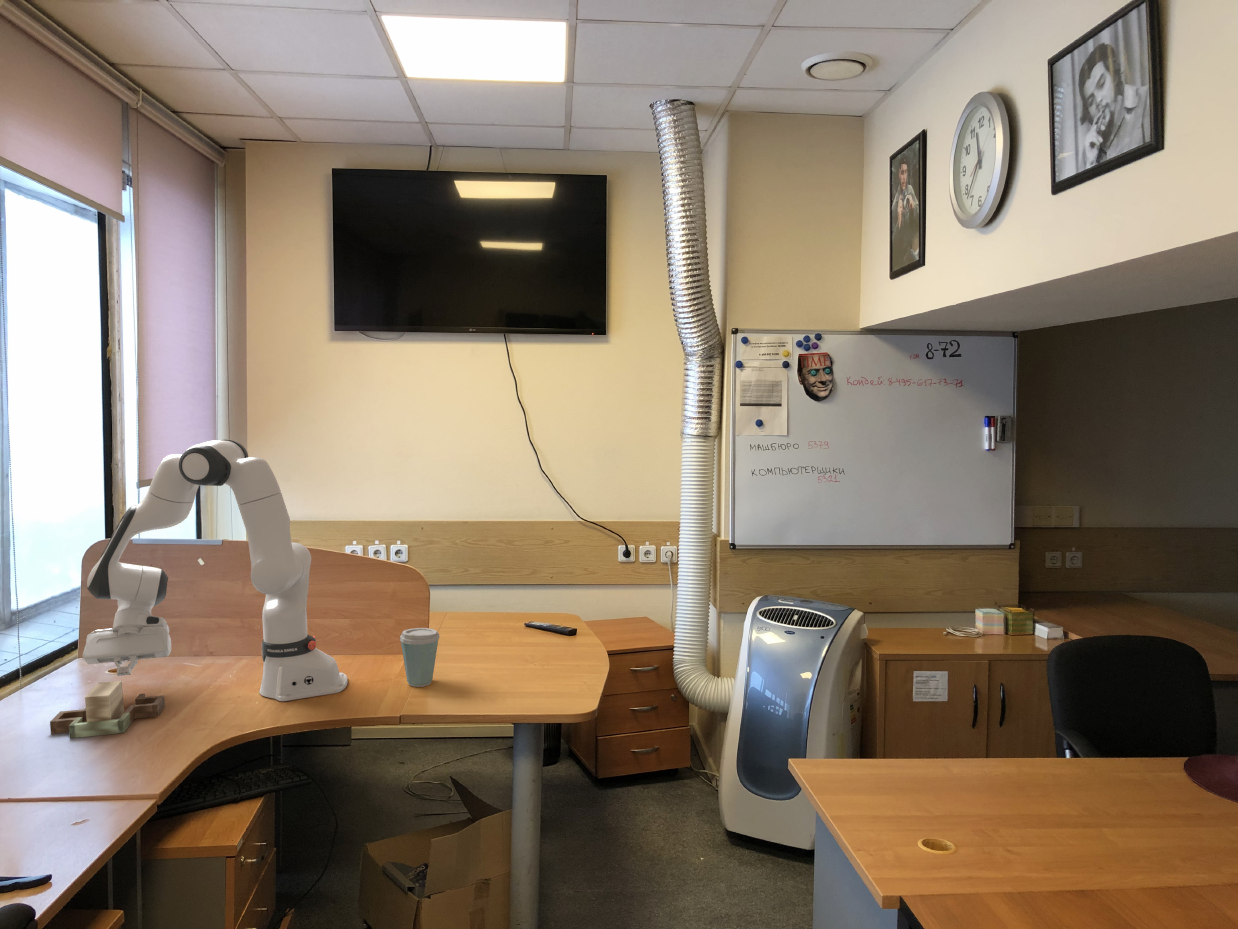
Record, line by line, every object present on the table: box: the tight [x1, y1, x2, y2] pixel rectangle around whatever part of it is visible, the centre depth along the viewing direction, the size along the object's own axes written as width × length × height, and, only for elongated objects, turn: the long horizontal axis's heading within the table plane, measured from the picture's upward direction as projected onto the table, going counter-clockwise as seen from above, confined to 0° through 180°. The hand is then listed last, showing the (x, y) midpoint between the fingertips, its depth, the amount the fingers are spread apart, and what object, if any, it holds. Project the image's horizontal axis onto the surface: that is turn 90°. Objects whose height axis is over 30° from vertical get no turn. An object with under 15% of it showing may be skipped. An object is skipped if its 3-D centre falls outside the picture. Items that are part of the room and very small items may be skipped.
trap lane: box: [49, 692, 166, 739], centre depth 208 cm, size 22×18×3 cm
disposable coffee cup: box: [399, 627, 440, 688], centre depth 232 cm, size 11×11×15 cm
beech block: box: [84, 680, 125, 722], centre depth 205 cm, size 5×10×9 cm, turn 15°
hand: (123, 674), depth 218 cm, fingers closed
